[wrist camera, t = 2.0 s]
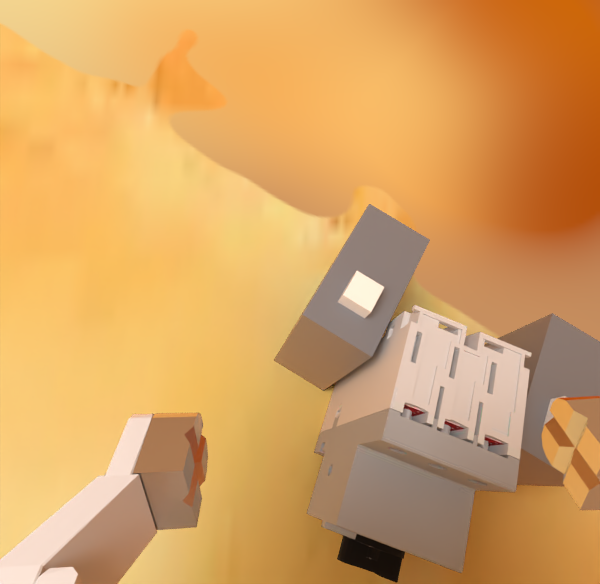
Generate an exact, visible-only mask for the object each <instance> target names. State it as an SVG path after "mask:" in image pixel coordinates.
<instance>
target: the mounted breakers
mask: <svg viewBox="0 0 600 584" xmlns="http://www.w3.org/2000/svg"><path fill="white" fill-rule="evenodd" d="M429 241H430V240H429V239H427V238H426V237H424V236H422V235H421V234H419V233H417V232H416V231H414V230H412V229H411V228H409V227H407V226H406V225H404V224H402V223H401V222H399V221H397V220H396V219H394V218H392V217H391V216H389V215H387V214H386V213H384V212H382V211H381V210H379V209H377V208H376V207H374V206H372V205H371V204H369V205H368V207H367V209H366V210H365V212H364V213H363V215H362V217H361V218H360V220H359V222H358V223H357V225H356V226H355V228H354V230H353V231H352V233H351V235H350V236H349V238H348V239H347V241H346V243H345V244H344V246H343V248H342V249H341V251H340V252H339V254H338V256H337V257H336V259H335V261H334V262H333V264H332V265H331V267H330V269H329V270H328V272H327V274H326V275H325V277H324V279H323V280H322V282H321V284H320V285H319V287H318V288H317V290H316V292H315V293H314V295H313V297H312V298H311V300H310V302H309V303H308V305H307V307H306V308H305V310H304V312H303V313H302V315H301V316H300V318H299V320H298V321H297V323H296V325H295V326H294V328H293V330H292V331H291V333H290V335H289V336H288V338H287V340H286V341H285V343H284V345H283V346H282V348H281V349H280V351H279V353H278V354H277V356H276V358H275V359H274V361H276V362H278V363H279V364H281V365H283V366H284V367H286V368H287V369H289V370H291V371H292V372H294V373H296V374H297V375H299V376H300V377H302V378H304V379H305V380H307V381H309V382H310V383H312V384H313V385H315V386H317V387H318V388H320V389H322V390H323V391H324V390H325V389H327V388H328V387H329V386H331V385H332V384H334V383H335V382H337V381H338V380H340V379H341V378H343V377H344V376H345V375H347V374H348V373H350V372H351V371H353V370H354V369H356V368H357V367H358V366H360V365H361V364H363V363H364V362H366V361H367V360H369V359H370V358H371V357H372V356H373V354H374V352H375V350H376V348H377V346H378V344H379V342H380V340H381V338H382V336H383V334H384V332H385V330H386V328H387V326H388V324H389V322H390V320H391V318H392V316H393V314H394V312H395V310H396V308H397V306H398V304H399V302H400V300H401V298H402V295H403V293H404V291H405V289H406V287H407V285H408V283H409V281H410V279H411V277H412V275H413V273H414V271H415V269H416V267H417V265H418V263H419V261H420V259H421V257H422V255H423V253H424V251H425V249H426V246H427V245H428V243H429ZM498 339H499V340H501V341H504V342H506V343H509V344H511V345H513V346H516V347H518V348H521V349H523V350H526V351H528V352H530V353H531V357H529V358H526V357H525V361H524V368H527V369H529V370H530V371H529V380H528V389H527V398H526V407H525V416H524V425H523V434H522V443H521V452H520V461H519V470H518V479H517V485H538V486H564V484H563V478H564V474H563V473H562V472H560V471H559V470H557V469H556V468H554V467H553V466H552V465H551V463H550V462H549V460H548V459H547V457H546V455H545V452H544V449H543V446H542V436H541V435H542V431H543V428H544V425H545V424H546V423H547V422H548V421H549V420H551V419H552V418H553V415H552V413H551V412H550V408H551V405H552V403H553V402H554V401H555V400H556V399H557V398H565V397H585V396H600V342H599V341H598V340H596V339H594V338H593V337H591V336H589V335H588V334H586V333H584V332H583V331H581V330H579V329H577V328H576V327H574V326H573V325H571V324H569V323H568V322H566V321H564V320H563V319H561V318H559V317H558V316H555V315H554V314H550V315H548V316H546V317H544V318H541V319H539V320H537V321H535V322H533V323H531V324H528V325H526V326H524V327H522V328H520V329H517V330H515V331H513V332H511V333H509V334H507V335H505V336H502V337H500V338H498ZM489 345H491V344H489V343H487V344H485V345H484V346H485V347H486V346H489Z"/></svg>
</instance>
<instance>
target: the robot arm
mask: <svg viewBox="0 0 600 584" xmlns="http://www.w3.org/2000/svg"><path fill="white" fill-rule="evenodd" d="M550 412H551V413H552V415H553V418H552V419H551V420H549V421H548V422H547V423H546V424H545V425H544V428H543V431H542V435H541V436H542V446H543V449H544V452H545V455H546V457H547V459H548V460H549V462H550V463H551V465H552V466H553V467H554V468H556V469H557V470H559V471H560V472H562V473H563V474H564V478H563V484H564V486H565V487H566V489H567V491H568V492H569V494H570V495H571V497H572V498H573V500H574V502H575V503H576V505H577V506H578V508H579V509H580V510H600V396H585V397H565V398H557V399H556V400H555V401H554V402H553V403H552V405H551V408H550ZM202 428H203V422H202V417H201V414H200V413H155V414H133V415H132V416H131V417H130V418H129V419H128V421H127V424H126V426H125V429H124V431H123V433H122V436H121V438H120V441H119V443H118V446H117V448H116V450H115V453H114V455H113V458H112V460H111V462H110V465H109V467H108V470H107V472H106V474H105V476H98V477H96V478H95V479H94V480H93V481H92V482H90V483H89V484H88V485H87V486H86V487H85V488H83V489H82V490H81V491H80V492H79V493H78V494H76V495H75V496H74V497H73V498H72V499H71V500H69V501H68V502H67V503H66V504H65V505H64V506H62V507H61V508H60V509H59V510H58V511H57V512H55V513H54V514H53V515H52V516H51V517H50V518H48V519H47V520H46V521H45V522H44V523H42V524H41V525H40V526H39V527H38V528H37V529H35V530H34V531H33V532H32V533H31V534H30V535H28V536H27V537H26V538H25V539H24V540H23V541H21V542H20V543H19V544H18V545H17V546H16V547H14V548H13V549H12V550H11V551H10V552H9V553H7V554H6V555H5V556H4V557H3V558H1V559H0V584H117V583H118V582H119V581H120V579H121V578H122V577H123V576H124V574H125V573H126V572H127V570H128V569H129V568H130V567H131V565H132V564H133V563H134V561H135V560H136V559H137V558H138V556H139V555H140V554H141V552H142V551H143V550H144V549H145V547H146V546H147V545H148V543H149V542H150V541H151V540H152V538H153V537H154V536H155V534H156V533H157V531H156V530H163V529H177V528H191V527H197V522H198V517H199V511H200V506H201V500H202V497H201V492H200V485H201V484H202V483H203V482H204V481H205V478H206V472H207V459H208V452H207V443H206V438H205V437H204V436H202V435H201V433H202Z"/></svg>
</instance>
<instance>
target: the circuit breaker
mask: <svg viewBox="0 0 600 584" xmlns="http://www.w3.org/2000/svg"><path fill="white" fill-rule="evenodd" d="M412 311H414V312H412V313H408V312H406V311H404V312H402V313H401V314H400V315H398V316H397V317H396V318H395V319H393V320H392V321H391V322H390V323H389V324H388V327H387V331H386V334H385V336H384V337H383V338H381V340H380V342H379V344H378V346H377V348H376V350H375V352H374V354H373V356H372V357H371V358H370V359H369V360H367V361H366V362H364V363H363V364H361V365H360V366H358V367H357V368H356V369H354V370H353V371H351V372H350V373H348V374H347V375H345V376H344V377H343V378H341V379H340V380H338V381H337V382H336V383H335V386H334V390H333V393H332V396H331V399H330V402H329V406H328V409H327V412H326V415H325V419H324V422H323V425H322V428H321V431H320V432H321V433H320V435H319V438H318V441H317V444H316V448H315V451H314V453H317V454H319V455H322V456H324V457H323V460H322V464H321V467H320V470H319V474H318V477H317V481H316V484H315V487H314V491H313V494H312V497H311V501H310V504H309V507H308V511H307V514H308V515H310V516H313V517H316V518H318V519H321V520H323V521H322V525H321V526H322V527H324V528H326V529H329V530H331V531H334V532H336V533H339V534H341V535H343V539H342V543H341V547H340V551H339V554H338V558H337V559H338V560H340V561H342V562H344V563H347V564H350V565H353V566H357V567H360V568H363V569H366V570H368V571H371V572H374V573H376V574H377V575H379V576H381V577H384V578H386V579H389V580H392V581H394V582H397V581H398V576H399V571H400V566H401V561H402V558H404V554H405V552H406V553H409V554H412V555H414V556H417V557H420V558H422V559H425V560H427V561H430V562H433V563H435V564H438V565H440V566H443V567H446V568H448V569H451V570H454V571H457V572H459V573H462V572H463V566H464V560H465V553H466V546H467V540H468V533H469V527H470V520H471V514H472V507H473V500H474V494H475V491H476V490H480V491H498V492H515V491H516V487H517V479H518V470H519V461H520V452H521V443H522V434H523V425H524V416H525V407H526V398H527V389H528V380H529V371H530V370H529V369H527V368H524V361H525V357H526V358H529V357H531V353H530V352H528V351H526V350H523V349H521V348H518V347H516V346H513V345H511V344H509V343H506V342H504V341H501V340H499V339H497V338H494V337H492V336H489V335H487V334H484V333H482V332H478V333H475V334H472V335H469V336H466V331H467V326H465V325H463V324H460V323H458V322H455V321H453V320H450V319H448V318H446V317H443V316H441V315H438V314H436V313H433V312H431V311H429V310H426V309H424V308H421V307H419V306H416V305H414V306H413V307H412ZM439 323H440V324H442V325H445V326H447V327H448V328H445V329H441V328H438V326H439ZM465 336H466V337H465ZM485 342H486V343H489V344H491V345H489V346H486V347H485V346H484V343H485Z"/></svg>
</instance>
